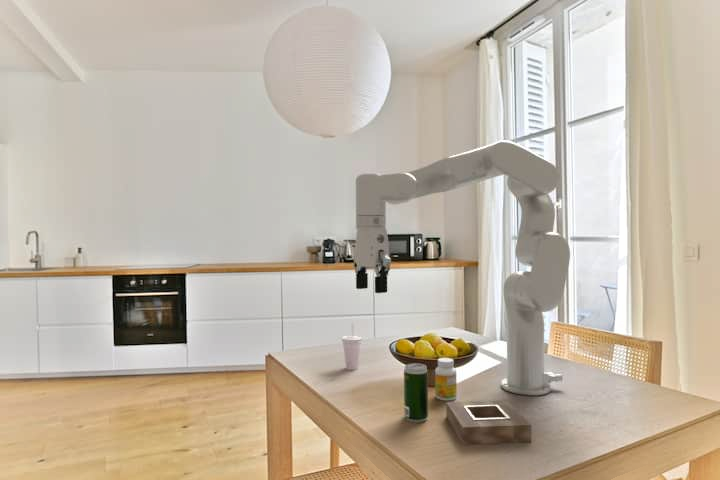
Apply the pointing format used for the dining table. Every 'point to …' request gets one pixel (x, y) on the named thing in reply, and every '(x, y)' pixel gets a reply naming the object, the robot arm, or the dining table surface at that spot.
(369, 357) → the dining table surface
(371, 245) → the robot arm
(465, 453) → the dining table surface
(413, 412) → the beer can
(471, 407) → the jig bore mouth
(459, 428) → the block
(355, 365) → the smoothie
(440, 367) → the supplement bottle
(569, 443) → the dining table surface
